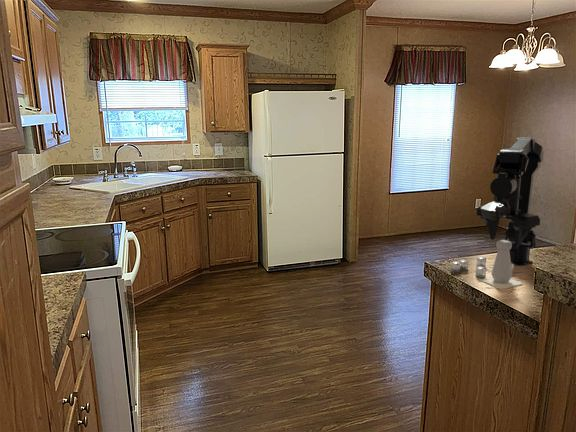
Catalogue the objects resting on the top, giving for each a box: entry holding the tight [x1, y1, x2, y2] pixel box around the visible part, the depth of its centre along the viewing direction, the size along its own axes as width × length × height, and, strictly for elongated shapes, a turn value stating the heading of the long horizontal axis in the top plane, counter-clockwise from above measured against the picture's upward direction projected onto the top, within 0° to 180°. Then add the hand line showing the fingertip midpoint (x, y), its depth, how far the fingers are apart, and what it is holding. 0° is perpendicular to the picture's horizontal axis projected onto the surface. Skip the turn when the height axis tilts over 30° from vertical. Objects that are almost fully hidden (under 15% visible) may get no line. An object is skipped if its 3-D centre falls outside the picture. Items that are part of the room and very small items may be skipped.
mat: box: [479, 276, 524, 290], centre depth 141 cm, size 9×8×1 cm
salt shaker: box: [491, 239, 513, 284], centre depth 139 cm, size 6×6×13 cm
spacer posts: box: [450, 256, 515, 279], centre depth 150 cm, size 18×11×3 cm, turn 112°
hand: (504, 243), depth 138 cm, fingers open, 9 cm apart
